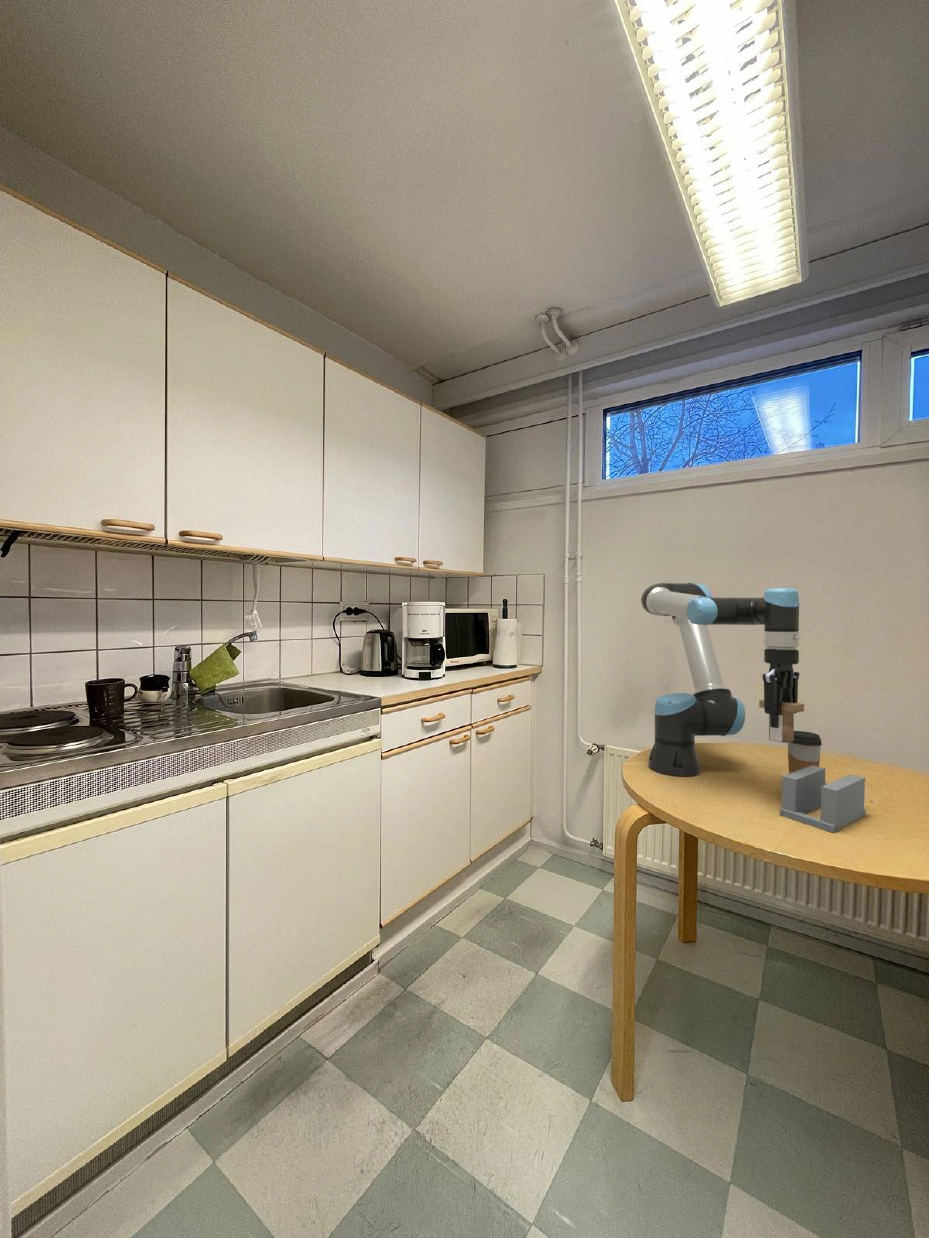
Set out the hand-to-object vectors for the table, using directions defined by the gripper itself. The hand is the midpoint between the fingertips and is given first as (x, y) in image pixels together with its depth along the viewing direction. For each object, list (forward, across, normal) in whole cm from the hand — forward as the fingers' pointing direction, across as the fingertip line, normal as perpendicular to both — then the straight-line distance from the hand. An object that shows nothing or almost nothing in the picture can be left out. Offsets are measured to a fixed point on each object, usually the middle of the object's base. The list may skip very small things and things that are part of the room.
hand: (781, 738), depth 128 cm
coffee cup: (+17, +21, +4) cm, 27 cm away
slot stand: (+18, +3, -8) cm, 20 cm away
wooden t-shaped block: (0, 0, 0) cm, 0 cm away
